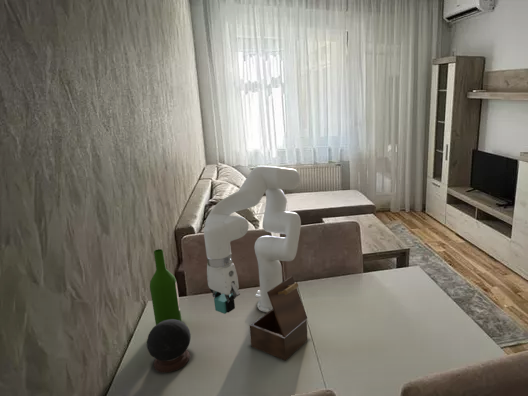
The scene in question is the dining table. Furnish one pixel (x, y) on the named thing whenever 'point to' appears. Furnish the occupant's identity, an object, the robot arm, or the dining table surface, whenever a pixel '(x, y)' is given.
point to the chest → (276, 336)
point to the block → (221, 303)
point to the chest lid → (287, 305)
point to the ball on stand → (169, 345)
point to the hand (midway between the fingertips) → (225, 307)
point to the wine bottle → (164, 291)
